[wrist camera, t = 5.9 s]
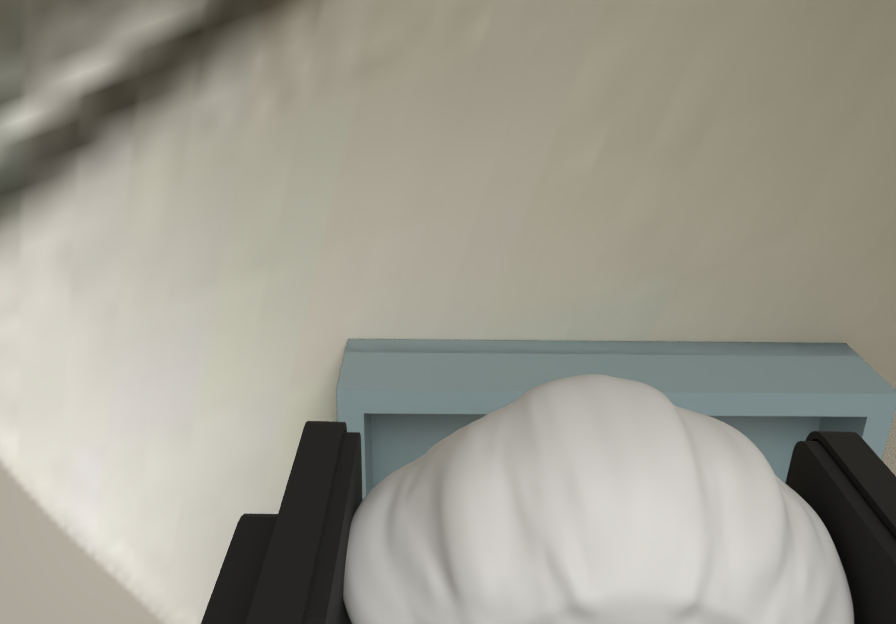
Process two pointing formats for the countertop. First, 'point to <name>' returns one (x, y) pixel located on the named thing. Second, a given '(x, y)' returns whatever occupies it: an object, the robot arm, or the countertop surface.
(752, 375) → the tray
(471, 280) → the countertop surface
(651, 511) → the garlic
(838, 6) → the countertop surface
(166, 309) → the countertop surface
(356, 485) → the robot arm
